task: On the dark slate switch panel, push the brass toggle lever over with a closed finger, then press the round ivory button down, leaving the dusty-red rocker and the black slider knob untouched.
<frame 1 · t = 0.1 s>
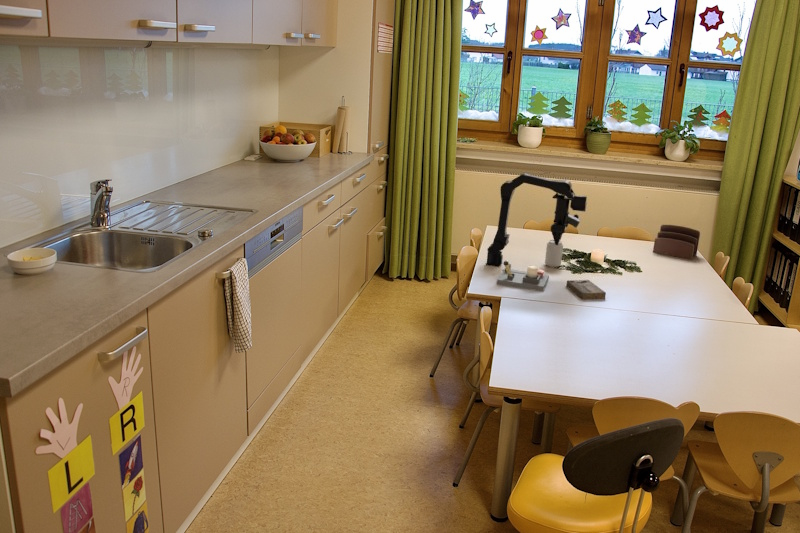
hand: (557, 242, 339), 15 cm above the table, fingers open, 9 cm apart
slider: (508, 267, 335), point 4 cm above the table, slide at -3.0 cm
letter holder: (674, 254, 385), on the table
grey flat block: (585, 293, 320), on the table
panel: (523, 281, 329), on the table
can: (552, 265, 355), on the table
rocker: (535, 270, 331), point 4 cm above the table, hinge at 12.0°
lever: (507, 269, 325), point 6 cm above the table, hinge at -23.0°
button: (532, 272, 322), point 6 cm above the table, slide at 0.0 cm
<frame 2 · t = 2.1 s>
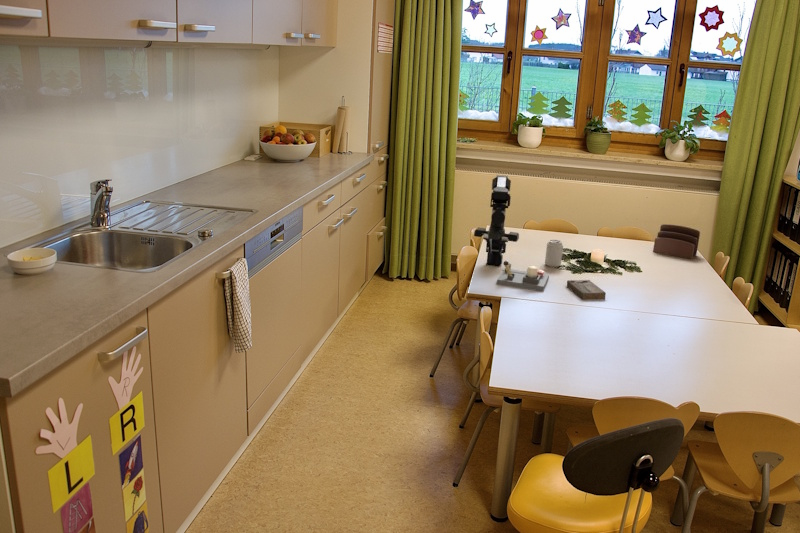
hand: (494, 253, 325), 12 cm above the table, fingers open, 4 cm apart
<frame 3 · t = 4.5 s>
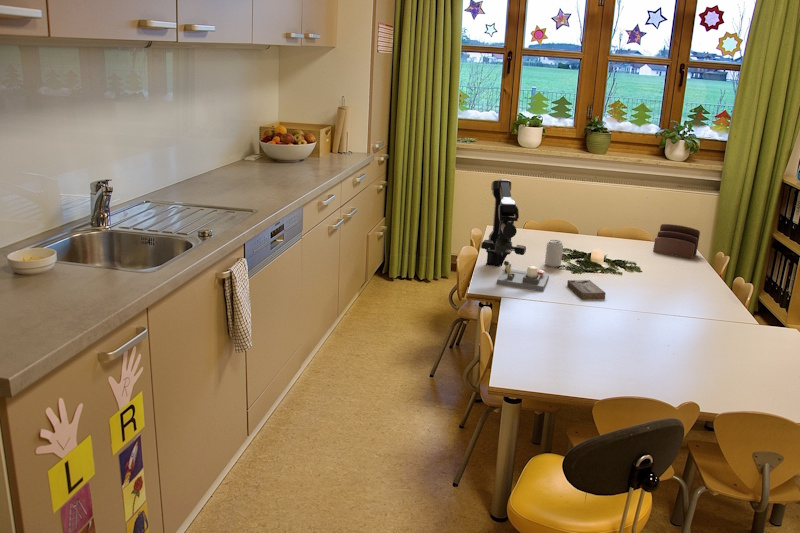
hand: (501, 266, 326), 7 cm above the table, fingers closed
lever: (508, 269, 325), point 6 cm above the table, hinge at -21.4°, touching gripper
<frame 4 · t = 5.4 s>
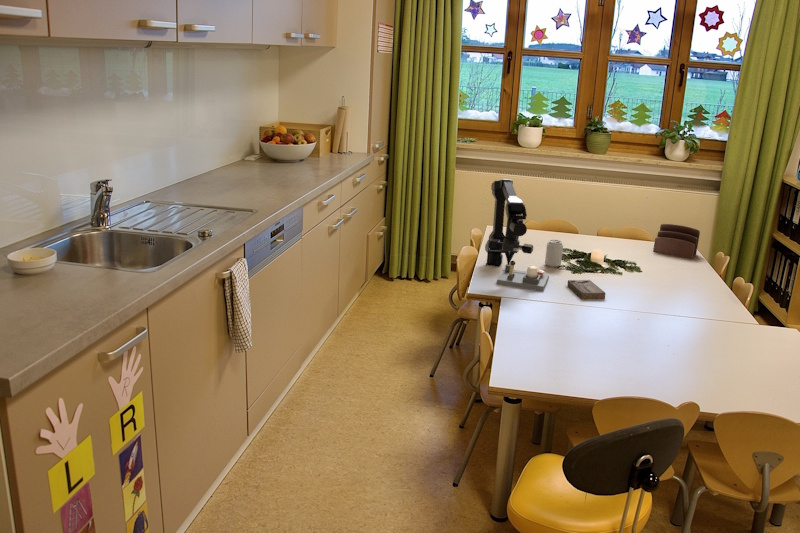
hand: (508, 265, 325), 8 cm above the table, fingers closed
lever: (511, 268, 325), point 6 cm above the table, hinge at 1.9°, touching gripper
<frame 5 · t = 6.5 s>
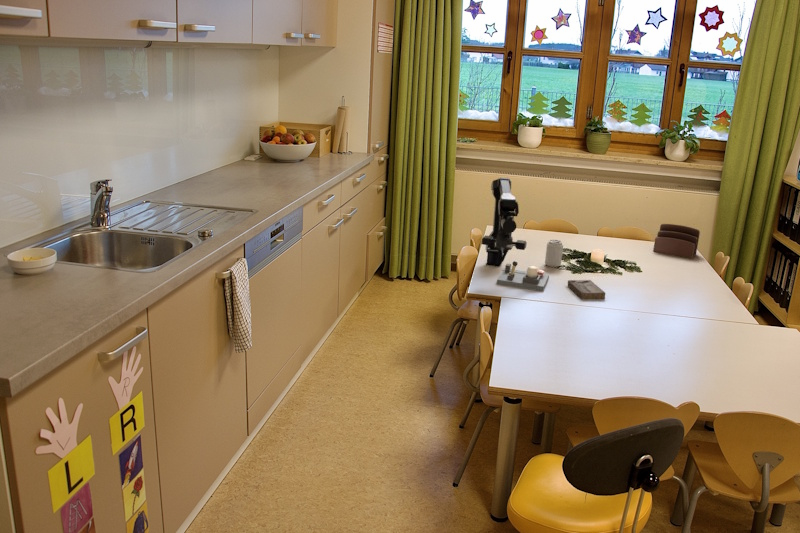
hand: (502, 261, 325), 9 cm above the table, fingers closed
lever: (513, 269, 325), point 6 cm above the table, hinge at 10.0°
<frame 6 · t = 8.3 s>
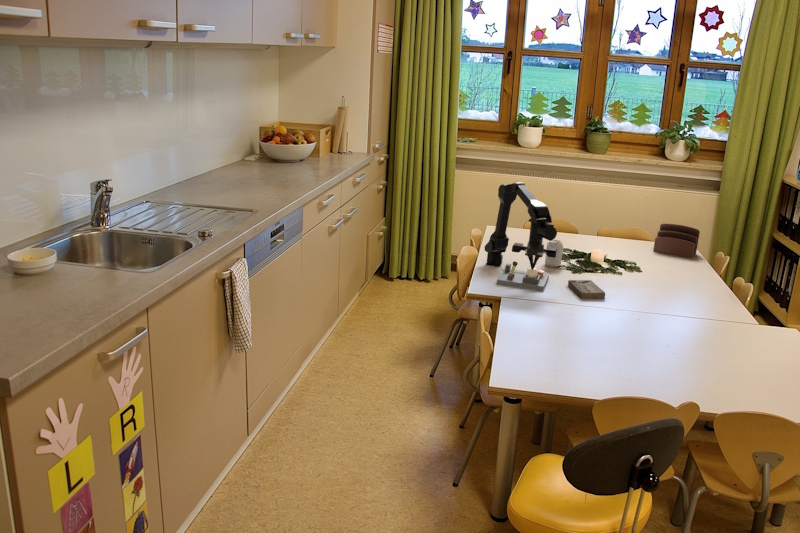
hand: (532, 269, 322), 7 cm above the table, fingers closed, pressing on button
button: (532, 273, 323), point 5 cm above the table, slide at 0.7 cm, touching gripper
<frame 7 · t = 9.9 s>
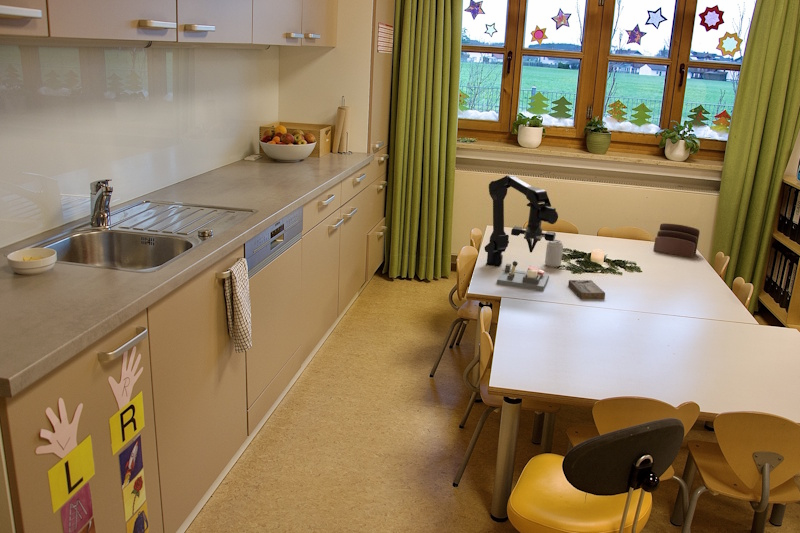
hand: (530, 252, 330), 12 cm above the table, fingers closed
button: (531, 275, 323), point 5 cm above the table, slide at 1.5 cm
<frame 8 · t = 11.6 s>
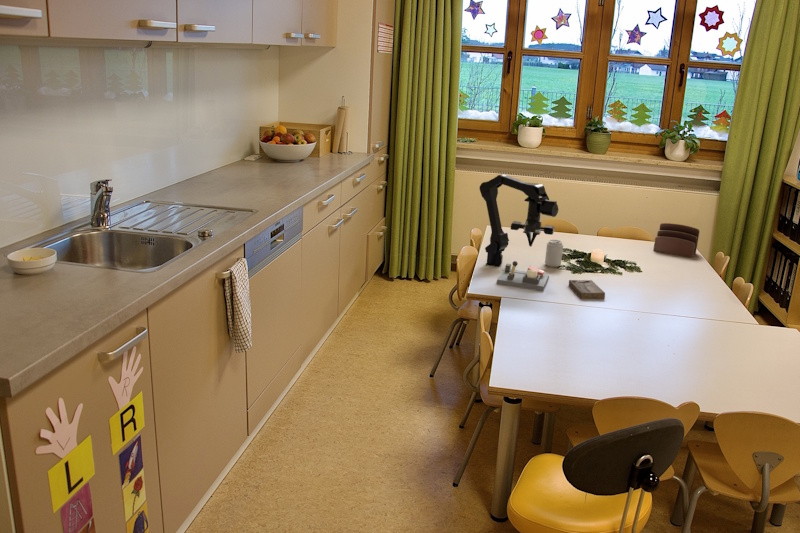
hand: (530, 246, 336), 13 cm above the table, fingers closed
at the end: lever at +10° (first picture: -23°); button slide at 1.5 cm; rocker at +12° (first picture: +12°) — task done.
